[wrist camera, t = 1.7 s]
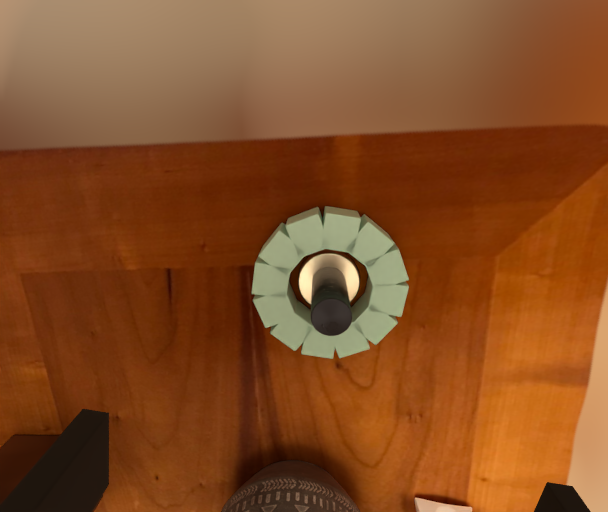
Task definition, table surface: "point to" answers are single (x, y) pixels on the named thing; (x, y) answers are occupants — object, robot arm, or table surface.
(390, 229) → the table surface
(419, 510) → the figurine
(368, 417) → the table surface
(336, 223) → the ring
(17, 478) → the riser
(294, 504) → the planter
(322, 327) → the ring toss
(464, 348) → the table surface
